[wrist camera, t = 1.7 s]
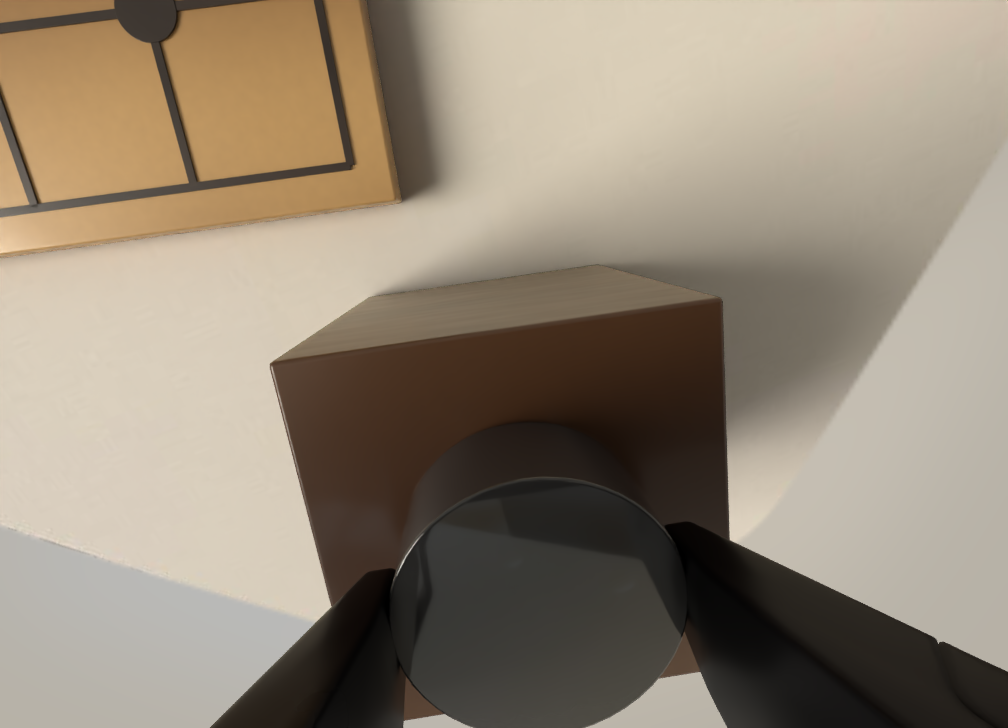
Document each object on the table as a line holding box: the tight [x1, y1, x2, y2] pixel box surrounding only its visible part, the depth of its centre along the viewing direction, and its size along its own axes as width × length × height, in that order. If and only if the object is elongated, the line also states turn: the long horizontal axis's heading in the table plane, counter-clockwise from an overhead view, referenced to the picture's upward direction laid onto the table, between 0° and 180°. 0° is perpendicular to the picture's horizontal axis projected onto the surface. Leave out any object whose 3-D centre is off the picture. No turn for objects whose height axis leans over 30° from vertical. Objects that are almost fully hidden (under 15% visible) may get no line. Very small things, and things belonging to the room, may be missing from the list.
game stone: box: [388, 422, 688, 728], centre depth 8 cm, size 4×4×2 cm
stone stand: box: [270, 265, 730, 721], centre depth 13 cm, size 7×7×8 cm
